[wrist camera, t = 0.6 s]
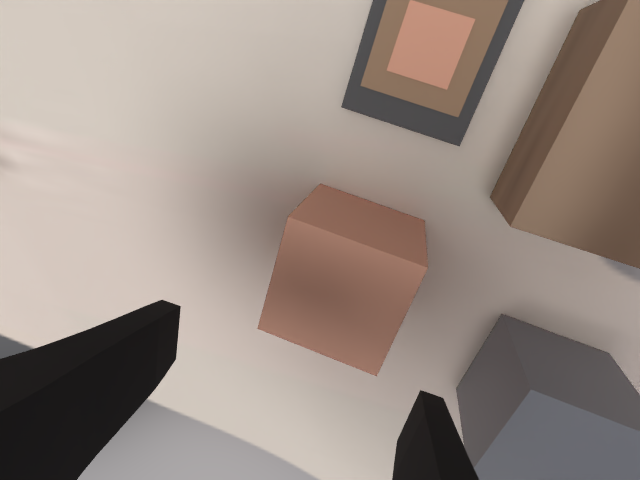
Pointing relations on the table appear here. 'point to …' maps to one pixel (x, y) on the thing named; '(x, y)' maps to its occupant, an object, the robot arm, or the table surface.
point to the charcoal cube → (547, 409)
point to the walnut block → (583, 141)
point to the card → (428, 62)
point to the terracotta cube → (345, 277)
